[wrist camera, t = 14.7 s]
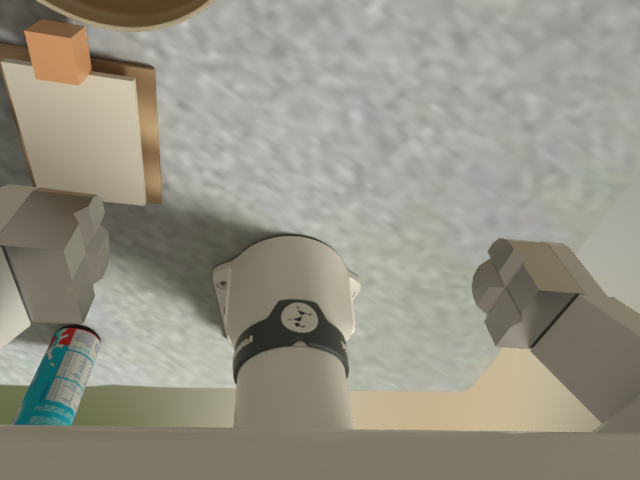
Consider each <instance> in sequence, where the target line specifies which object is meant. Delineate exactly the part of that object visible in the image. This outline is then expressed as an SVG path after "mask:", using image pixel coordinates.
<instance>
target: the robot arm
mask: <svg viewBox="0 0 640 480" xmlns="http://www.w3.org/2000/svg"><path fill="white" fill-rule="evenodd" d="M104 214H105V210H104V205H103V200H102V198H101V197H100V196H99V195H95V194H87V193H79V192H72V191H64V190H56V189H48V188H37V187H30V186H21V185H13V184H8V185H5V186H2V187H1V188H0V349H1V348H2V347H4V346H5V345H6V344H7V343H9V342H10V341H11V340H12V339H14V338H15V337H16V336H18V335H19V334H20V333H21V332H23V331H24V330H25V329H27V328H28V327H29V326H30V325H31V323H30V322H36V323H70V324H83V322H84V320H85V318H86V315H87V313H88V311H89V308H90V306H91V304H92V301H93V299H94V297H95V294H94V289H93V284H94V283H96V282H97V281H99V280H100V279H102V278H103V275H104V273H105V270H106V268H107V263H108V258H109V253H110V241H109V234H108V231H107V230H106V229H105V228H104V227H103V226H102V225H101V224H100V223H101V221H102V219H103V217H104ZM488 254H489V260H487V261H486V262H484V263H483V264H481V265H479V267H478V269H477V270H476V272H475V274H474V276H473V282H472V293H473V298H474V300H475V302H476V305H477V306H478V307H479V308H480V309H481V310H483V311H484V312H485V313H486V314H487V315H486V318H485V321H484V322H485V324H486V326H487V329H488V331H489V333H490V335H491V337H492V339H493V342H494V344H495V346H497V347H510V348H521V349H531V352H532V353H533V354H534V355H535V356H536V357H537V358H538V359H539V360H540V361H541V362H542V363H543V364H544V365H545V366H546V367H547V368H548V369H549V370H550V371H551V372H552V374H553V375H555V377H556V378H557V379H558V380H559V381H560V382H561V383H563V385H564V386H565V387H566V388H567V389H568V390H569V391H570V392H571V393H572V394H573V395H574V396H575V397H576V398H577V399H578V400H579V401H580V402H581V403H582V404H583V405H584V406H585V407H586V408H587V409H588V410H589V411H590V412H591V413H592V414H593V415H594V416H595V417H596V418H597V419H598V420H599V421H600V422H601V423H602V424H601V425H600V426H599V427H597V428H596V429H595V430H593V431H592V432H517V431H514V432H513V431H512V432H511V431H442V430H363V429H362V430H361V429H356V428H355V424H354V420H353V415H352V410H351V405H350V400H349V394H348V387H347V381H346V379H347V377H348V374H349V366H348V364H349V356H348V350H347V348H346V341H347V340H348V339H349V338H350V336H351V334H352V333H354V331H355V320H354V309H353V300H354V298H355V297H356V295H357V294H358V293H359V291H360V289H361V281H360V279H359V278H358V277H357V276H356V275H354V274H353V273H351V272H350V271H348V270H347V269H346V267H345V266H344V264H343V262H342V260H341V259H340V257H339V256H338V255H337V253H336V252H335V251H333V250H332V249H331V248H330V247H328V246H327V245H325V244H323V243H321V242H319V241H316V240H313V239H309V238H305V237H298V236H282V237H275V238H270V239H266V240H263V241H261V242H258V243H256V244H254V245H252V246H251V247H249V248H248V249H246V250H245V251H244V252H243V253H241V254H240V255H239V256H238V257H237V258H236V259H234V260H232V261H230V262H227V263H224V264H221V265H219V266H217V267H215V268H214V269H213V282H214V286H215V291H216V295H217V299H218V303H219V307H220V311H221V315H222V319H223V323H224V328H225V332H226V336H227V340H228V342H229V344H231V345H233V348H234V351H235V353H234V357H233V376H234V381H235V383H236V385H237V386H236V399H235V413H234V425H233V428H207V427H202V428H201V427H133V426H61V425H0V480H640V314H639V313H637V312H635V311H634V310H632V309H631V308H629V307H628V306H626V305H625V304H623V303H622V302H620V301H619V300H617V299H616V298H614V297H607V295H606V294H605V293H604V292H603V290H602V289H601V288H600V287H599V285H598V284H597V283H596V281H595V280H594V279H593V277H592V276H591V275H590V274H589V272H588V271H587V270H586V268H585V267H584V266H583V265H582V263H581V262H580V261H579V260H578V258H577V257H576V256H575V254H574V253H573V252H572V250H571V249H570V248H569V247H568V246H566V245H564V244H562V243H553V242H533V241H523V240H513V239H503V238H499V239H498V240H496V241H495V242H494V243H493V244H492V245H491V247H490V249H489V250H488ZM223 281H225V282H223Z"/></svg>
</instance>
